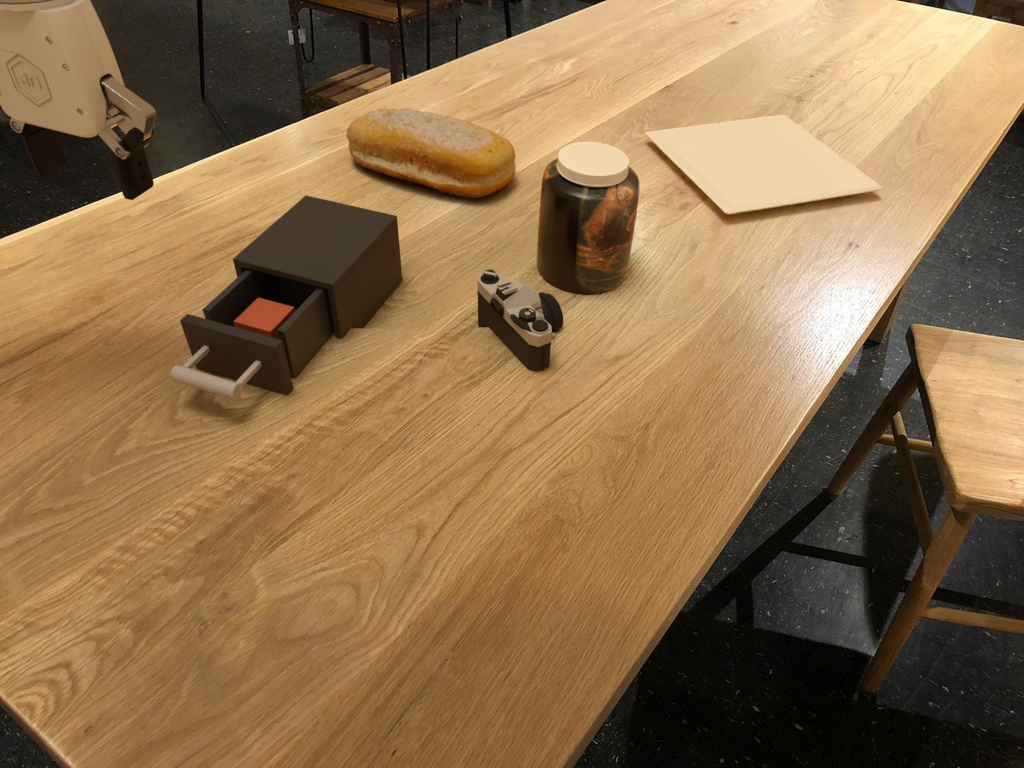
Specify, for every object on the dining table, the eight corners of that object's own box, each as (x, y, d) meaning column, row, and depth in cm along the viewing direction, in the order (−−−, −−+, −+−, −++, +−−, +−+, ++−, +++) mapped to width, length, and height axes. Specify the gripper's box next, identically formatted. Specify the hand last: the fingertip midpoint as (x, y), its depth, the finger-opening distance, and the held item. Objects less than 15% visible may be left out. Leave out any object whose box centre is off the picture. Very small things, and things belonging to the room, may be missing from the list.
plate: (780, 124, 130) (784, 112, 129) (879, 199, 112) (884, 186, 111) (642, 142, 124) (644, 130, 122) (723, 225, 106) (726, 212, 104)
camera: (589, 365, 84) (595, 295, 78) (532, 391, 80) (533, 320, 75) (522, 311, 92) (522, 244, 87) (467, 332, 89) (463, 264, 83)
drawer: (260, 436, 74) (244, 381, 69) (166, 406, 76) (144, 351, 71) (354, 324, 86) (346, 271, 81) (271, 302, 89) (258, 249, 84)
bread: (487, 215, 106) (487, 162, 101) (331, 170, 114) (323, 119, 109) (528, 174, 115) (531, 123, 110) (380, 135, 123) (376, 86, 118)
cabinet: (343, 351, 84) (332, 284, 78) (250, 325, 87) (232, 258, 81) (402, 280, 94) (397, 215, 88) (316, 259, 97) (305, 195, 91)
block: (278, 364, 80) (270, 331, 77) (242, 354, 81) (233, 321, 78) (301, 339, 83) (294, 306, 80) (266, 329, 84) (258, 297, 81)
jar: (522, 280, 95) (527, 169, 85) (553, 234, 103) (561, 127, 93) (613, 303, 92) (630, 191, 82) (638, 254, 100) (656, 146, 90)
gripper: (-109, -30, 57) (-13, 179, 69) (79, 8, 53) (146, 222, 65) (-25, -53, 62) (51, 144, 74) (151, -20, 59) (202, 183, 70)
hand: (95, 181), depth 70 cm, fingers open, 9 cm apart
